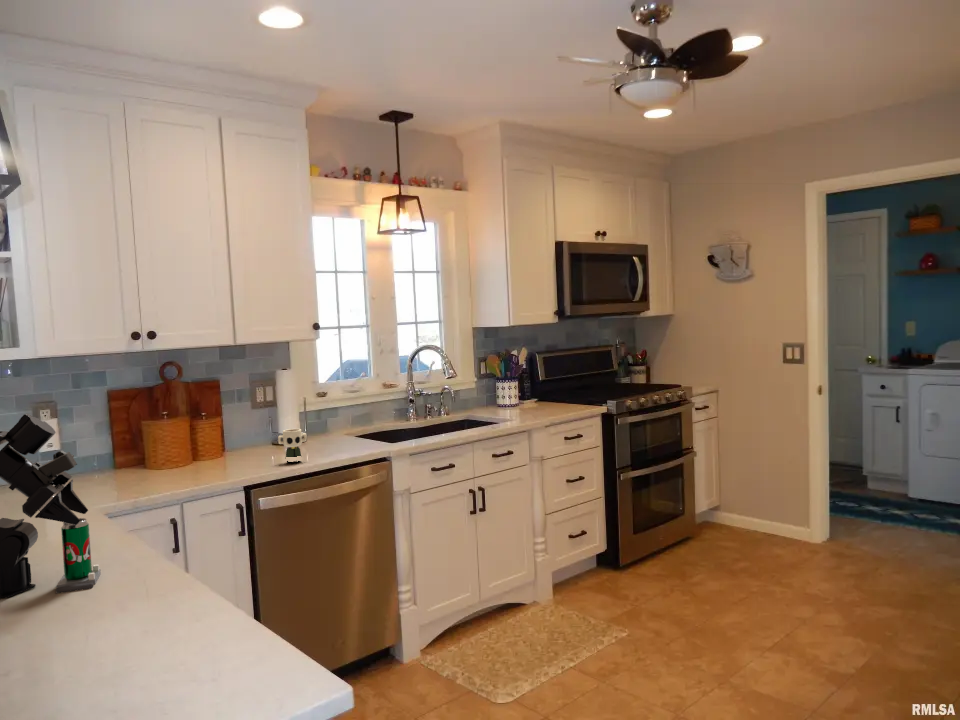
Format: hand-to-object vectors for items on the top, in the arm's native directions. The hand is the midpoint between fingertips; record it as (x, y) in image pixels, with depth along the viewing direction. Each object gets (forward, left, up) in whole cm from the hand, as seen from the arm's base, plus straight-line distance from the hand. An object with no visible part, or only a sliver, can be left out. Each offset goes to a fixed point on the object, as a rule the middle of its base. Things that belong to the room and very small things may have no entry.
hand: (82, 517), depth 148 cm
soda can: (-1, +1, -13) cm, 13 cm away
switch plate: (-1, +1, -14) cm, 14 cm away
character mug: (+123, +33, -14) cm, 129 cm away
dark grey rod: (-5, -2, -14) cm, 15 cm away
